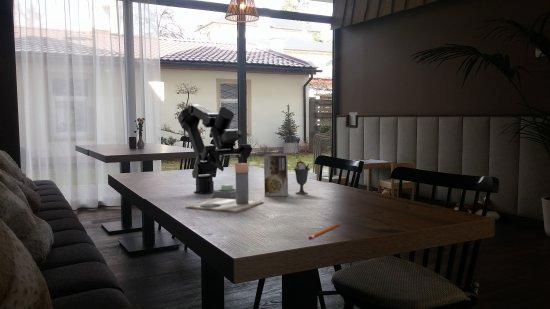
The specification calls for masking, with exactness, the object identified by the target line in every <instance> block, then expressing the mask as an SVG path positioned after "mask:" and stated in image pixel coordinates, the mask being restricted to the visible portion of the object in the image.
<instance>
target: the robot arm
mask: <svg viewBox="0 0 550 309" xmlns="http://www.w3.org/2000/svg"><path fill="white" fill-rule="evenodd" d="M234 117H235V114H234V112H233V111H232V110H231V109H229V108H227V107H226V106H220V107H219V111H218V112H216V111H215V112H214V111H210V110H209V109H207V108H205V107H203V106H202V105H201V104H199V103H198V104H197V103H195V104H194V103H191V104H188V106H187V107H186V108H184V109H182V110H181V112H180V113H179V115H178V123H179V125H180V127H181V128H182V130H184V131H185V132H186V133H187V135H188V138H189V141H190V145H191V146H192V150H193V152H194V154H195V155H194V156H195V158H196V160H195V161H194V167H193V169H192V172H191V176H192V178H193V179H195V190H194V191H193V193H194V194H195V193H196V194H206V195H207V194H210V193H213V191H215V189H214V186H215V185H214V178H216V177H217V171H218V170H220V171H221V172H224V166H223V162H222V161H221V159H220V156H237V159H238V161H239V162H238V163H248V161H247V159H248V158H249V156H250V155H251V153H252V151H253V147H252V145H251V144H250V143H248V144H247V143H245V144H241V143H240V145H239V147H238V148H234V147H235V146H236V142H237V141H240V140H241V139H242V137H243V135H242V132H241V130H239V129H235V130H228V129H230V126H231V125H232V122H233V120H234ZM200 122H201V124H202V125H203V126H204V127H205V128H210V131H209V132H210V133H209V135H208V136H209V138H212V139H213V142H214V145H205V143H204V140H203V138H202V136H201V135H202V134H201V132H200V129H199V125H200Z"/></svg>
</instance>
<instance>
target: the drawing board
mask: <svg viewBox="0 0 550 309" xmlns="http://www.w3.org/2000/svg"><path fill="white" fill-rule="evenodd" d="M261 204H264V201H261V200H249V204H245V205H239V204H236V198H232V199H225V198H211V199H207V200H204V201H201V202H200V201H199V202H198V203H193V204H190V205H187V206H185V208H186V209H191V210H201V211H210V212H211V211H212V212H222V213H230V214H231V213H233V214H238V213H241V212H243V211H247V210H250V209H251V208H254V207H257V206H259V205H261Z"/></svg>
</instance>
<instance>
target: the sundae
mask: <svg viewBox="0 0 550 309" xmlns="http://www.w3.org/2000/svg"><path fill="white" fill-rule="evenodd" d="M295 158H296V159H297V162H296V165H295V166H294V168H293V171H294V173H295V180H296V183H297V184H298V185H300V186H299V187H300V188H299V191H296V192H295V194H296V195H301V196H302V195H308V192H306V191H304V185H306V183H307V181H308V176H309V174H308V173H309V171H311V168H310V166H309V165H310V164H309V163H308V164H306V163H305V162H304V161H303V160H301V159H300V158H299V157H298V156H296V157H295Z"/></svg>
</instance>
